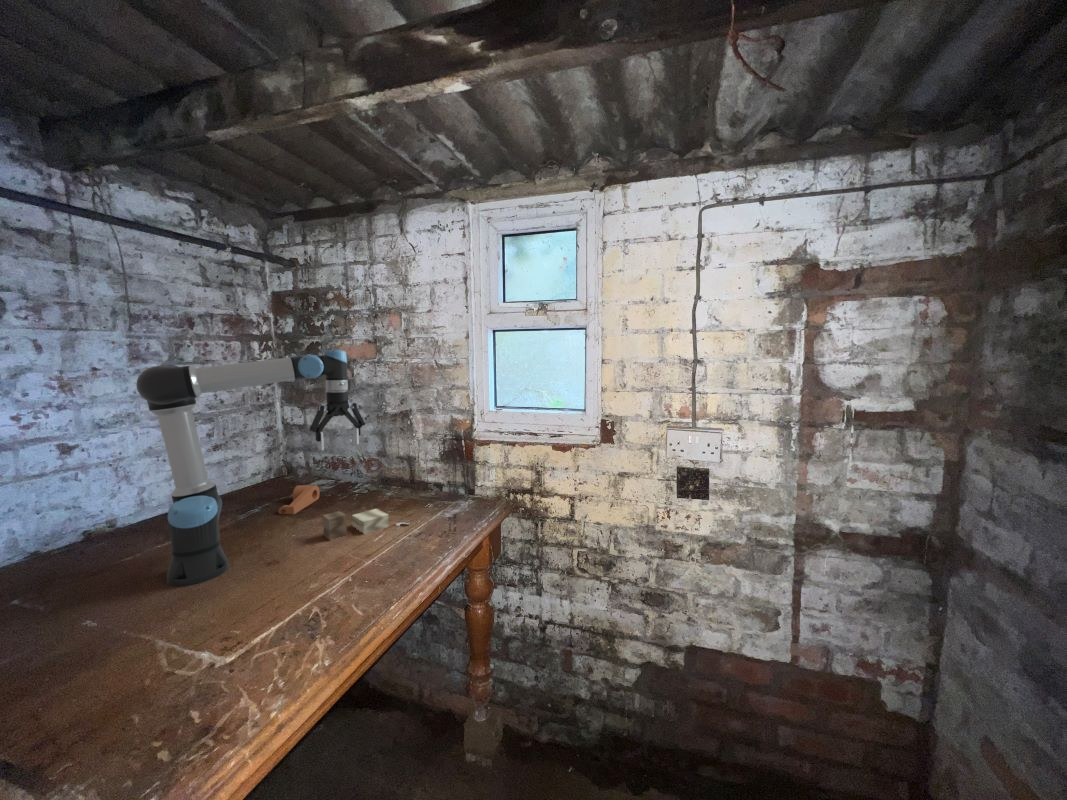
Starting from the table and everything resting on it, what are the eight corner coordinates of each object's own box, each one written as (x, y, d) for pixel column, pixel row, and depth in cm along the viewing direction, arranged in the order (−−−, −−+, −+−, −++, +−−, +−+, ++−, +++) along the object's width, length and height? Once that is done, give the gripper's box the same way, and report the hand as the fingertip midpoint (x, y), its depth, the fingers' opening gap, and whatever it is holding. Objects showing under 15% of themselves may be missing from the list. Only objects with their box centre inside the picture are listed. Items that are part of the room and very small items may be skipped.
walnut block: (330, 540, 155) (328, 519, 154) (324, 536, 159) (322, 515, 158) (346, 535, 159) (345, 515, 158) (340, 531, 163) (339, 510, 162)
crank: (303, 499, 200) (302, 483, 199) (320, 499, 199) (319, 483, 198) (275, 515, 180) (274, 497, 179) (294, 516, 179) (292, 497, 178)
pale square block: (364, 534, 160) (363, 521, 160) (352, 527, 167) (351, 515, 167) (389, 527, 167) (388, 514, 167) (377, 520, 174) (376, 508, 174)
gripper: (307, 393, 149) (309, 453, 151) (373, 390, 169) (374, 443, 171) (297, 392, 154) (300, 450, 156) (363, 389, 173) (364, 440, 175)
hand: (339, 446), depth 163 cm, fingers open, 13 cm apart
